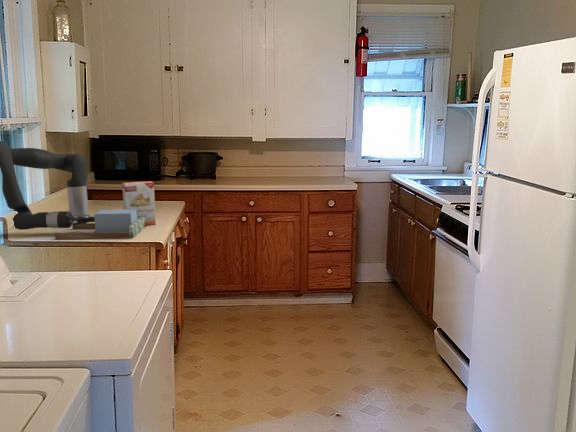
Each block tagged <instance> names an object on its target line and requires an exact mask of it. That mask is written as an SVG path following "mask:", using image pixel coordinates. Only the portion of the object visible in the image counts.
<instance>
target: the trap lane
mask: <svg viewBox="0 0 576 432" xmlns="http://www.w3.org/2000/svg"><path fill="white" fill-rule="evenodd" d="M71 227H72V230H95V222H89V223H86V224H77V225H73V224H72V226H71ZM144 229H146V226H145V222H144V217H141V218H140V219H138V220H137V221H136V222H135V223H133V224H132V225H131V226H130V227H129V232H106V233H96V232H57V233H56V232H55V233H54V239H55V240H93V239H94V240H102V239H103V240H105V239H134V238H135V237H136V236H137V235H138V234H140V233H141V232H142V231H143V230H144Z"/></svg>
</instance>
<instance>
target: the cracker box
mask: <svg viewBox="0 0 576 432" xmlns="http://www.w3.org/2000/svg"><path fill="white" fill-rule="evenodd" d="M121 185H122V187H121V189H122V201H123V203H122V204H123V210H136V212H137V220H138V219H140V218H141V217H144V222H145V227H146V226H155V225H157V223H156V203H155V202H156V201H155V199H156V198H155V183H154V182H153V181H150V180H149V181H134V182H133V181H132V182H131V181H130V182H122V183H121Z"/></svg>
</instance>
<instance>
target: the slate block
mask: <svg viewBox="0 0 576 432" xmlns="http://www.w3.org/2000/svg"><path fill="white" fill-rule="evenodd" d="M93 214H94V215H93V217H95V222H94V223H95V229H94V230H95V233H106V232H129V227H130V226H131V225H132V224H133V223H135V222H136V221H137V212H136V210H124V209H100V210H98V211H97V212H95V213H93Z"/></svg>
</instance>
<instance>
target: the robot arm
mask: <svg viewBox="0 0 576 432" xmlns="http://www.w3.org/2000/svg"><path fill="white" fill-rule="evenodd" d="M15 166H18V167H25V168H32V169H37V170H38V169H39V170H50V169H55V170H60V171H64V172H67V173H71V178H70V179H68V180H67V181H66V190H67V201H68V210H67V211H65V210H63V211H60V210H58V211H41V212H36V213H33V212H32V210H31V209H30V208H29V206H28V204H27V203H26V201H25V199H24V197H23V194H22V191H21V188H20V185H19V182H18V178H17V175H16V171H15V170H16V169H15ZM0 172H1V179H2V180H1V181H2V182H1V190H2V194H3V198H4V200H5V202H6V205H7V207H8V208H9V209H10V210H13V212H14V211H17V212H18V214H16V213H15V214H14V218H13V217H12V218H13V221H14V226H15V229H16V230H31V229H38V228H42V229H45V228H47V229H48V228H49V229H69V228H71V227H72V224H73V225H77V224H86V223H95V217H94V216H91V215H90V214H89V201H88V190H87V187H88V186H87V181H88V162H87V158H86V157H85V156H84V155H83V154H79V153H73V154H72V153H64V154H63V153H54V152H51V151H49V150H46V149H42V148H36V147H20V148H17V147H16V148H10V145H8V144H7V143H6V142H5V141H2V140H0Z"/></svg>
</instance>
